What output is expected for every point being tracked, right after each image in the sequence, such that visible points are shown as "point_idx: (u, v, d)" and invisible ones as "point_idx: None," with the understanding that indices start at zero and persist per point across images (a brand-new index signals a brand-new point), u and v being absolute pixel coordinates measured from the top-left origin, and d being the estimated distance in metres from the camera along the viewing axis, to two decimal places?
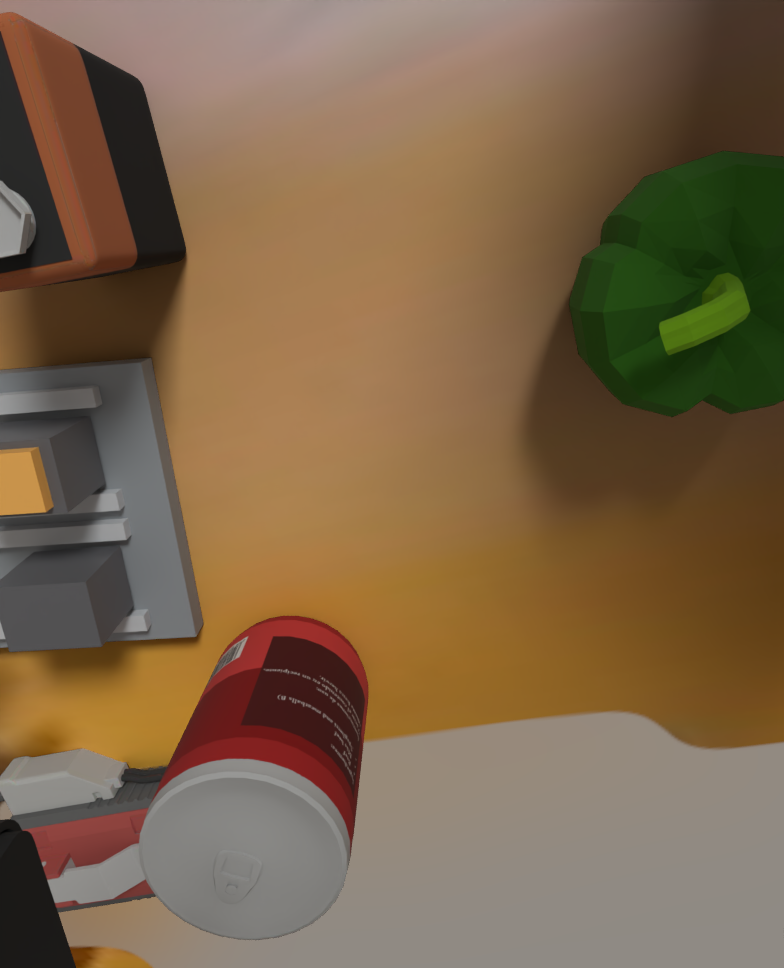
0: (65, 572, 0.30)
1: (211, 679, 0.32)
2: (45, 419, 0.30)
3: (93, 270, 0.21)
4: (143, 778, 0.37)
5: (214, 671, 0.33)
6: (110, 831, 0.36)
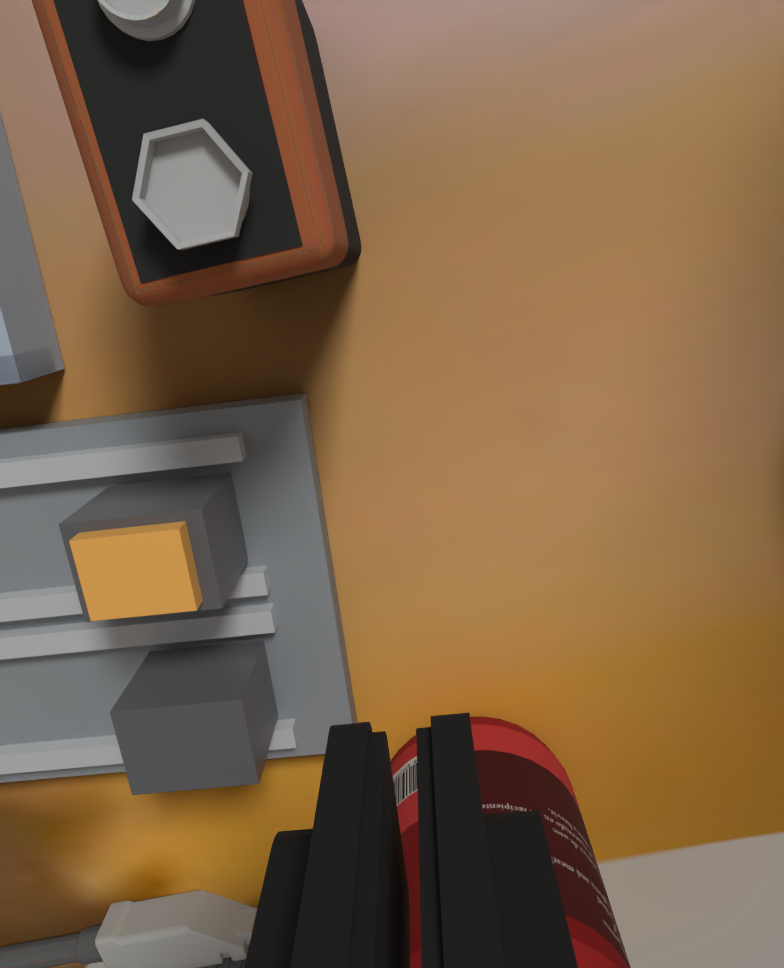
0: (206, 684, 0.22)
1: None
2: (172, 479, 0.23)
3: (325, 263, 0.14)
4: None
5: None
6: None
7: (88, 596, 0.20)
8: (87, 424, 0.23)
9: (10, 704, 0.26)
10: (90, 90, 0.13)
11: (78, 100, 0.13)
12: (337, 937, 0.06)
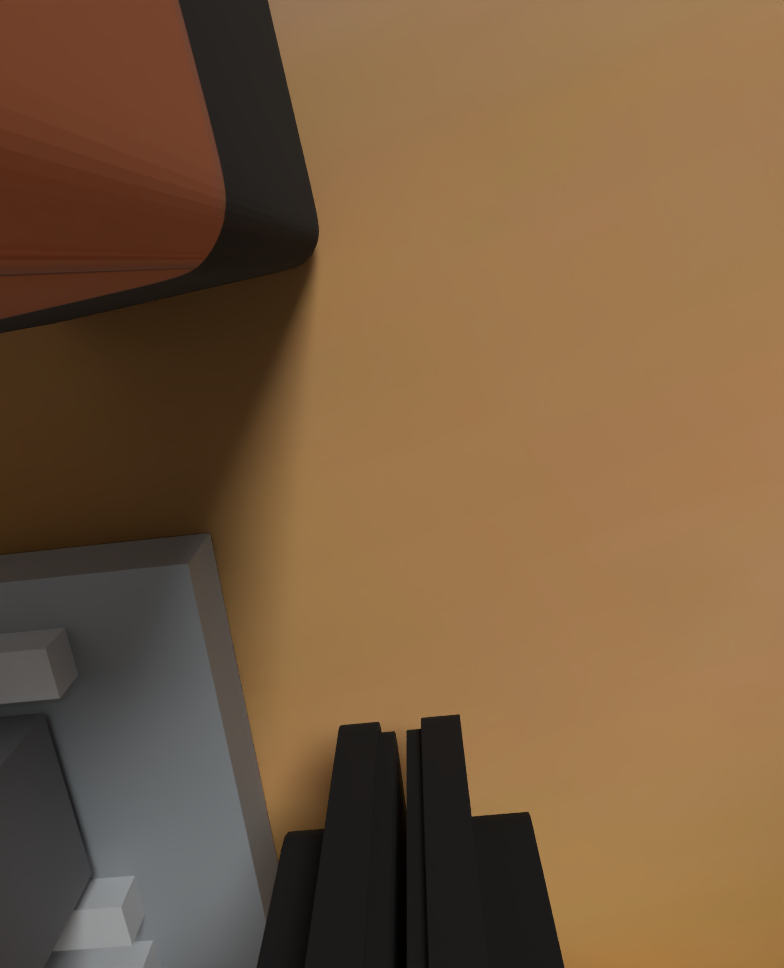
0: None
1: None
2: None
3: None
4: None
5: None
6: None
7: None
8: None
9: None
10: None
11: None
12: (351, 938, 0.06)
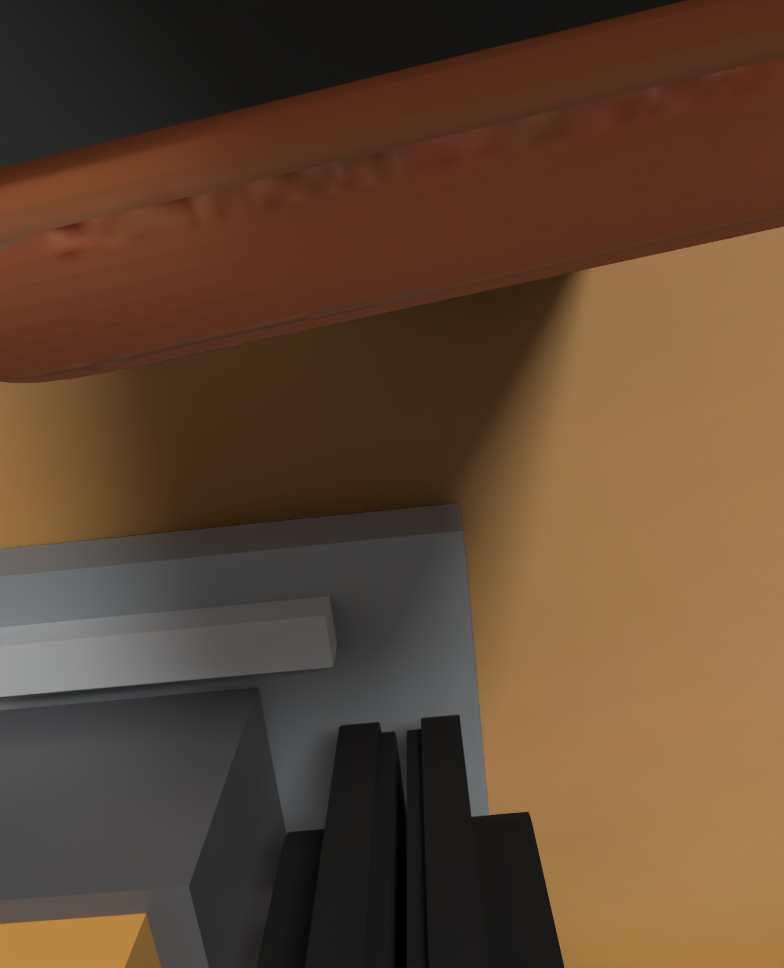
0: None
1: None
2: (128, 700, 0.11)
3: None
4: None
5: None
6: None
7: None
8: None
9: None
10: None
11: None
12: (351, 938, 0.06)
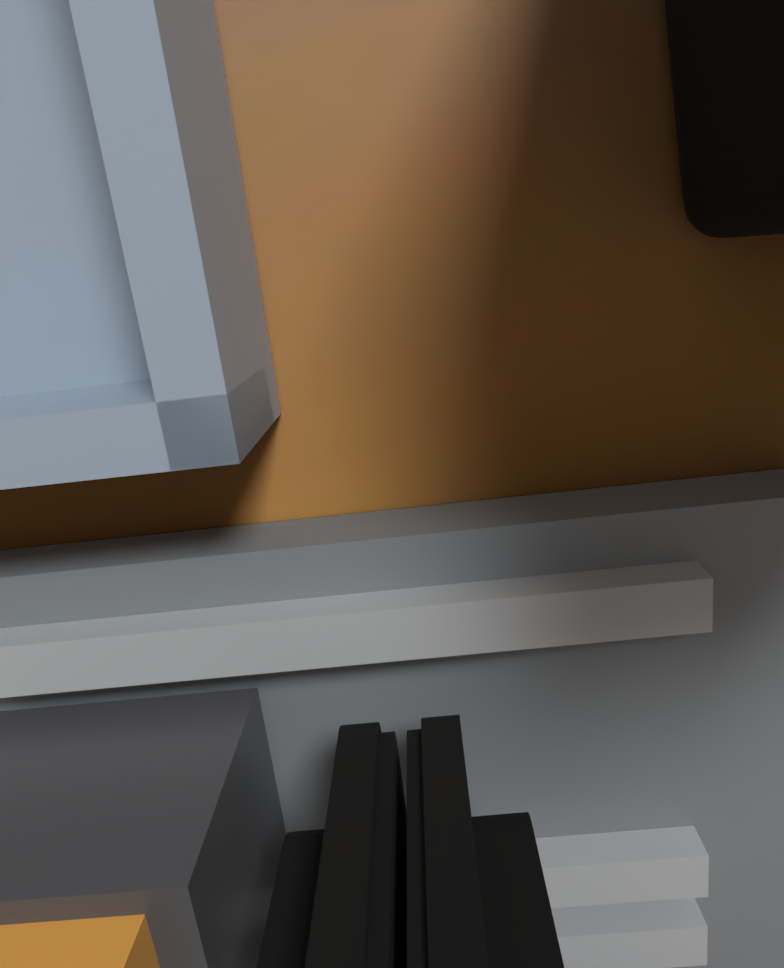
0: None
1: None
2: (128, 701, 0.11)
3: None
4: None
5: None
6: None
7: None
8: (344, 541, 0.10)
9: None
10: None
11: None
12: (351, 938, 0.06)
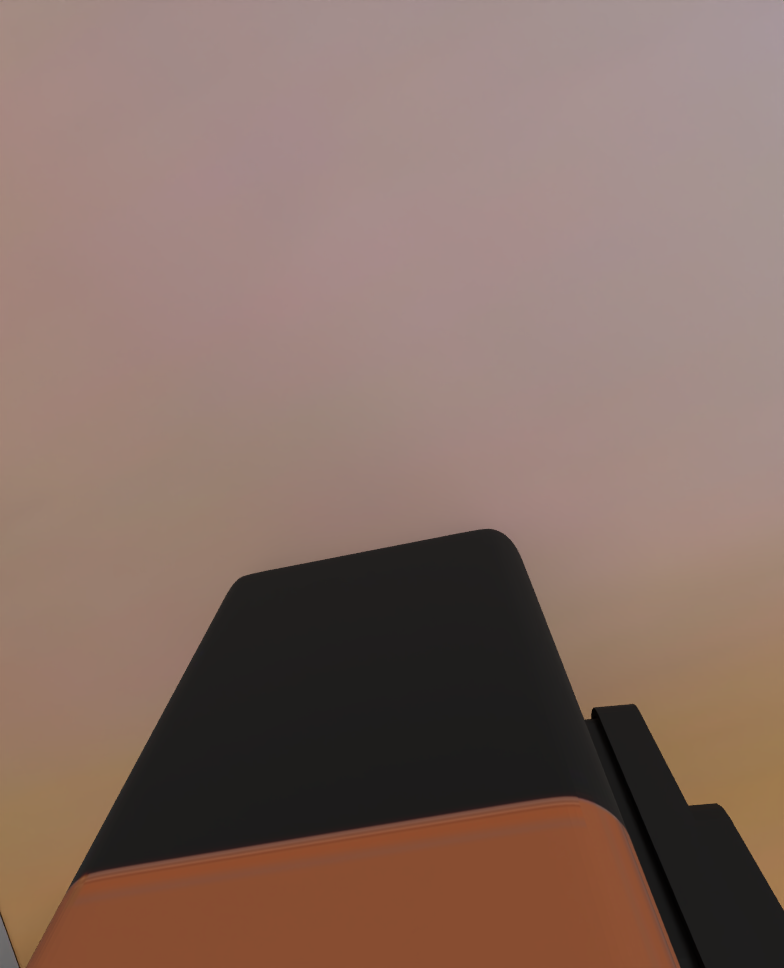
0: None
1: None
2: None
3: None
4: None
5: None
6: None
7: None
8: None
9: None
10: None
11: None
12: None
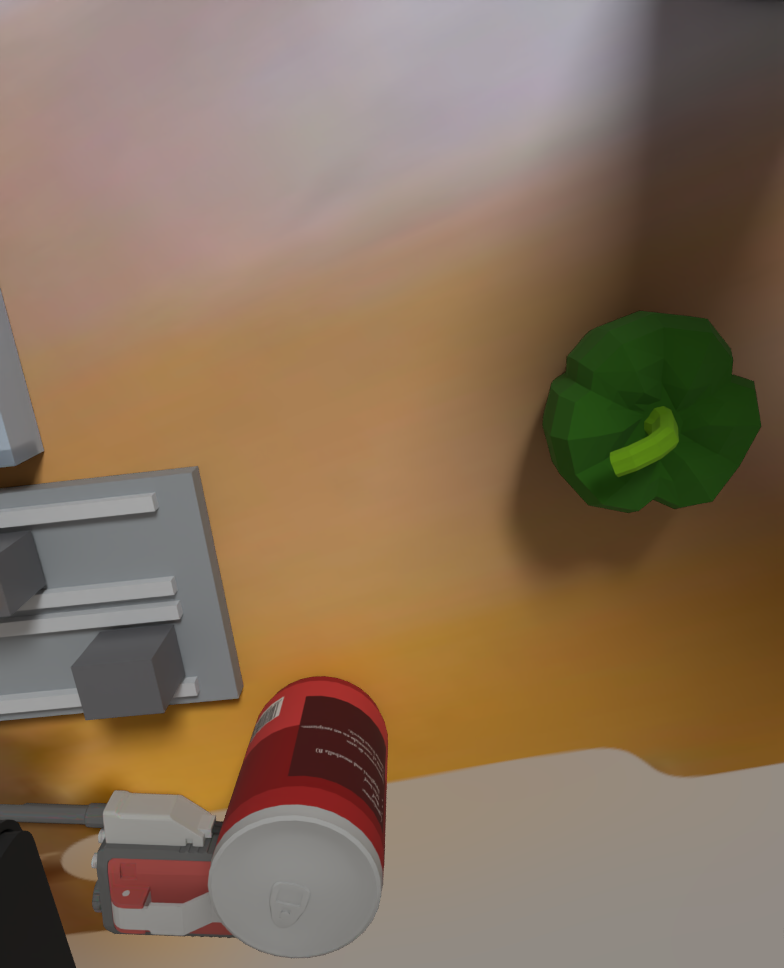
0: (132, 650, 0.36)
1: (255, 735, 0.38)
2: None
3: None
4: None
5: (256, 728, 0.39)
6: (194, 876, 0.41)
7: None
8: (58, 487, 0.36)
9: (9, 667, 0.39)
10: None
11: None
12: None
